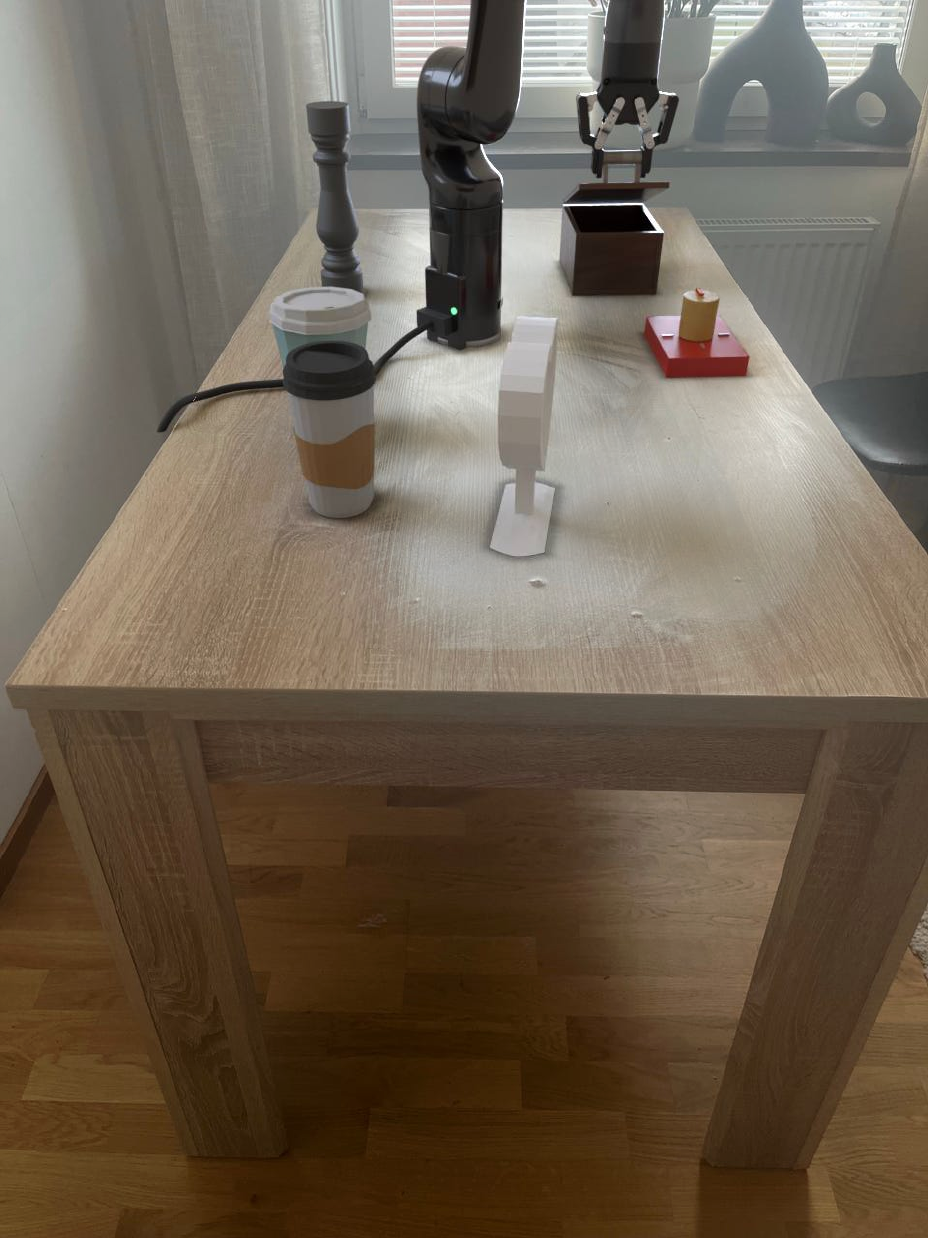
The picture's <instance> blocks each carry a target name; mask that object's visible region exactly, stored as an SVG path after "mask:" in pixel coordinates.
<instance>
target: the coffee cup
mask: <svg viewBox="0 0 928 1238" xmlns="http://www.w3.org/2000/svg"><path fill="white" fill-rule="evenodd" d="M282 377H283V378H282V379H283V386H284V387H283V389H284V390H285V391H286V394H287V399H288V404H289V409H290V414H291V419H292V425H293V426H292V430H293V435H294V439H295V444H296V449H297V453H298V457H299V458H298V459H299V463H300V468H301V469H300V470H301V473H302V476H303V478H304V484H305V488H306V494H307V498H308V503H309V504H310V506H311V507H312V509H313V510H314V511H315V512H316V513H317V514H319V515H321V516H323V517H326V518H332V519H344V518H345V519H346V518H351V517H355V516H358V515H361V514H363V513H365V511H367V510H368V509H369V507H370V506H371V504H372V501H374V496H375V468H376V464H375V462H376V461H375V460H376V453H375V452H376V449H375V448H376V445H375V444H376V435H375V434H376V423H375V384H376V380H377V377H376V375H375V374H374V364H373V361H372V360H371V359H370V357H369V353H368V350H367V349H364V348H363V347H362V346H360V345H357V344H354V343H350V342H345V341H318V342H313V343H308V344H305V345H302V346H299V347H297V348H295V349H293V350H292V351H290V352H289V353H288V354H287V357H286V365H285V366H284V368H283V367H282Z"/></svg>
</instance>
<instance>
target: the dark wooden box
mask: <svg viewBox="0 0 928 1238" xmlns="http://www.w3.org/2000/svg"><path fill="white" fill-rule="evenodd" d="M561 207H562V209H561V226H560V244H559V259H558V263H559V265H560V268H561V271H562V273H563V276H564V278H565V281H566V284H567V286H568V289H569V291H570V295H571V296H572V297H584V296H586V297H587V296H590V297H591V296H630V295H631V296H634V295H635V296H636V295H638V296H639V295H641V296H642V295H657V293H658V283H659V275H660V270H661V269H660V268H661V260H662V251H663V243H664V236H665V232H664V230H663V229H662V227H661V226H660V225H659V224H658V222H657V221H656V220H655V218H654V217H653V215H652V214H651V213H650V211H649V210H648V208H647V207H646V206H645V204H644V203H618V204H562V206H561Z"/></svg>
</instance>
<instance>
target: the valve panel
mask: <svg viewBox="0 0 928 1238" xmlns="http://www.w3.org/2000/svg"><path fill="white" fill-rule="evenodd" d="M680 317H681V315H659V316H658V315H657V316H655V315H653V316H645V323H644V329H643V330H644V331H643V336H644V337H645V339H646V342H647V343H648V345H649V347H650V349H651V351H652V353H653V355H654V357H655V359H656V361H657V363H658V365H659V367H660V369H661V371H662V373H663V375H664V377H665V378H701V377H703V378H704V377H745V376H747V372H748V368H749V362H750V358H751V357H750V355H749V354H748V352H747V351H746V349H745V348H744V347H743V345H742V343H741V342H740V341H739V339H738V338H737V337H736V336H735V333H734V332H733V331H732V330H731V328H730V327H729V326H728V324H727V323H726V321H725V320H724V319H723V317H722V316H721V315H720V314H717V317H716V323H715V329H714V335H713V338H712V339H710V340H708V341H701V342H696V341H689V340H685V339H683V338H681V337H680V336H679V335H678V331H679V324H680Z"/></svg>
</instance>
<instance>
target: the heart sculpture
mask: <svg viewBox="0 0 928 1238" xmlns="http://www.w3.org/2000/svg"><path fill="white" fill-rule="evenodd" d="M558 340H559V318H558V317H538V316H524V315H523V316H521V315H517V317H516V318H515V320H514V322H513V327H512V335H511V341H508V342H507V346H506V348H505V352H504V357H503V362H502V365H501V372H500V379H499V387H498V407H497V444H498V454H499V460H500V462H501V465H502V466H503V467H505V468H506V469H510V470H515V482H512V483H506V484H505V485H504V490H503V494H502V498H501V500H500V501H501V502H500V506H499V509H498V513H497V518H496V521H495V524H494V525H495V526H494V529H493V533H492V537H491V542H490V545H489V549H492V550H494V551H496V552H498V553H501V554H503V555H506V556H512V557H517V558H518V557H528V556H530V557H531V556H535V555H540V554H544V553H545V551H546V547H547V545H546V544H547V538H548V533H549V527H550V523H551V522H550V521H551V515H552V509H553V504H554V498H555V492H556V487H552V486H550V485H546V484H545V483H540V482H537V481H536V472H545V471H546V466H547V465H546V464H547V457H548V455H547V454H548V448H549V439H550V431H551V422H552V413H553V405H554V404H553V403H554V395H555V394H554V392H555V382H556V371H557V358H558V357H557V356H558V343H559V341H558Z"/></svg>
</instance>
